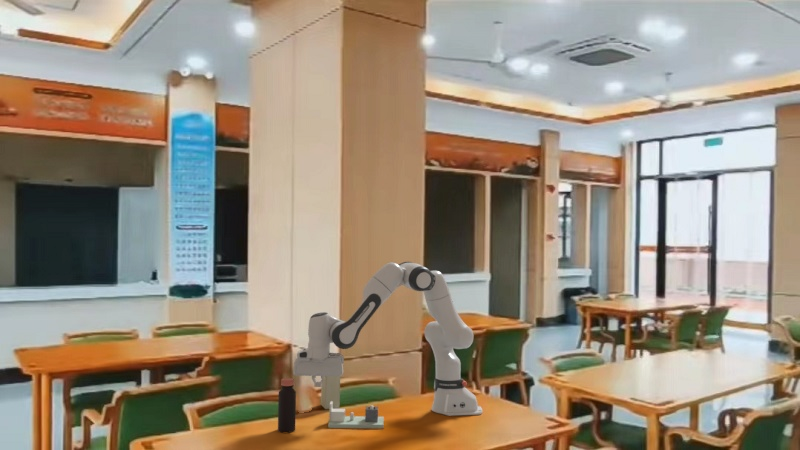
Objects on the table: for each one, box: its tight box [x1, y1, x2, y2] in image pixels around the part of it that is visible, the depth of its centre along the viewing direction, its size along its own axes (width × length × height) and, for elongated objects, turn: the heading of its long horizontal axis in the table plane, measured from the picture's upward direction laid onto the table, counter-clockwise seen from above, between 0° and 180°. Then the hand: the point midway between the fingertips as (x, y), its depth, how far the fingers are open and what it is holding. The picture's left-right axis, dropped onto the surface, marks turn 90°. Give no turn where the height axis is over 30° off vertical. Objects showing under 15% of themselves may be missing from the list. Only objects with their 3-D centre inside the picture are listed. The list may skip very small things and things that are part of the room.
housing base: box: [327, 404, 385, 430], centre depth 271 cm, size 22×12×8 cm, turn 91°
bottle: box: [277, 377, 297, 433], centre depth 261 cm, size 7×7×20 cm
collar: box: [364, 406, 379, 422], centre depth 271 cm, size 5×5×5 cm
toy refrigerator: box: [320, 376, 341, 410], centre depth 298 cm, size 8×7×21 cm
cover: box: [328, 401, 346, 422], centre depth 271 cm, size 6×5×7 cm
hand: (318, 386), depth 271 cm, fingers closed
